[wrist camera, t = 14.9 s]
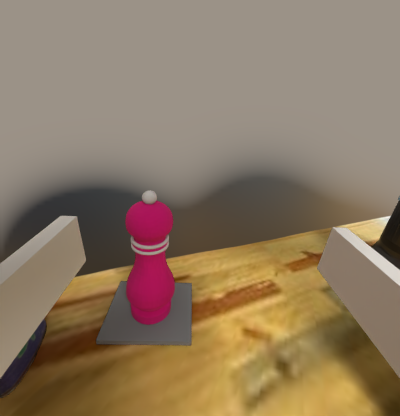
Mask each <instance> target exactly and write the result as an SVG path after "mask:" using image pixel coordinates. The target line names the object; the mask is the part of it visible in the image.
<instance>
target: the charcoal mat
mask: <svg viewBox="0 0 400 416" xmlns="http://www.w3.org/2000/svg"><path fill="white" fill-rule="evenodd" d="M126 285H127V281H121V282H120V284H119V287H118V289H117V292H116V294H115V296H114V299H113V301H112V303H111V306H110V308H109V311H108V313H107V315H106V318H105V320H104V322H103V325H102V327H101V329H100V332H99V334H98V337H97V339H96V343H97V344H124V345H191V317H192V283H175V291H174V294H173V297H172V298H171V309H170V312H169V314H168V315H167V317H166V318H165V319H163V320H162V321H160V322H158V323H156V324H150V325H146V324H142V323H139V322H137V321H136V320H135V319H134V318H133V316H132V313H131V303H130V302H129V300H128V298H127V295H126Z"/></svg>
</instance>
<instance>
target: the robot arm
mask: <svg viewBox="0 0 400 416" xmlns="http://www.w3.org/2000/svg"><path fill="white" fill-rule="evenodd" d="M398 200H399V201H398V203H397V206H396V208H395V209H394V211H393V213H392V215H391V217H390V219H389V221H388V223H387V225H386V227H385V229H384V231H383V233H382V235H381V237H380V239H379V240H378V241H377V242H376V243H375V244H373V245H372V246H371V247H370V246H369V245H367V244H366V243H365V242H364V241H362V240H361V239H360V238H359V237H357V236H356V235H355V234H354V233H352V232H351V231H350V230H349V229H347V228H336V227H332V230H331V232H330V235H329V238H328V240H327V243H326V246H325V248H324V251H323V254H322V256H321V259H320V262H319V264H318V267H317V269H318V270H319V272H320V273H321V274H322V276H323V277H324V278H325V280H326V281H327V282H328V284H329V285H330V286H331V288H332V289H333V290H334V292H335V293H336V294H337V296H338V297H339V298H340V300H341V301H342V302H343V304H344V305H345V306H346V308H347V309H348V310H349V312H350V313H351V314H352V316H353V317H354V318H355V320H356V321H357V322H358V324H359V325H360V326H361V328H362V329H363V330H364V332H365V333H366V334H367V336H368V337H369V338H370V340H371V341H372V342H373V343H374V345H375V346H376V347H377V349H378V350H379V351H380V353H381V354H382V355H383V357H384V358H385V359H386V361H387V362H388V363H389V365H390V366H391V367H392V369H393V370H394V371H395V373H396V374H397V375H398V377H399V378H400V196H399V198H398ZM85 261H86V257H85V253H84V248H83V244H82V239H81V235H80V230H79V225H78V221H77V217H76V216H60V217H59V218H58V219H56V220H55V221H54V222H53V223H51V224H50V225H49V226H47V227H46V228H45V229H44V230H43V231H41V232H40V233H39V234H37V235H36V236H35V237H34V238H32V239H31V240H30V241H28V242H27V243H26V244H25V245H23V246H22V247H21V248H20V249H18V250H17V251H16V252H15V253H13V254H12V255H11V256H10V257H8V258H7V259H6V260H5V261H3V262H2V263H1V264H0V378H1V377H2V375H3V374H4V373H5V371H6V370H7V369H8V367H9V366H10V364H11V363H12V362H13V360H14V359H15V358H16V356H17V355H18V353H19V352H20V351H21V349H22V348H23V347H24V345H25V344H26V342H27V341H28V340H29V338H30V337H31V336H32V334H33V333H34V331H35V330H36V329H37V327H38V326H39V325H40V323H41V322H42V320H43V319H44V318H45V316H46V315H47V314H48V312H49V311H50V309H51V308H52V307H53V305H54V304H55V303H56V301H57V300H58V299H59V297H60V296H61V294H62V293H63V292H64V290H65V289H66V288H67V286H68V285H69V283H70V282H71V281H72V279H73V278H74V277H75V275H76V274H77V272H78V271H79V270H80V268H81V267H82V265H83V264H84V263H85Z"/></svg>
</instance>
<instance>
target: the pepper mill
mask: <svg viewBox="0 0 400 416" xmlns="http://www.w3.org/2000/svg"><path fill="white" fill-rule="evenodd" d="M142 199H143V201H140V202H138V203H136V204H134V205H133V206H132V207H131V208H130V209H129V211H128V212H127V215H126V229H127V231H128V232H129V234H131V235H132V236H131V247H132V249H133V250H134V251H135V253H136V255H135V256H136V257H135V263H134V266H133V269H132V271H131V273H130V275H129V277H128V281H127V285H126V295H127V298H128V300H129V302H130V303H131V313H132V316H133V318H134V319H135V320H136V321H137V322H139V323H142V324H146V325H150V324H156V323H158V322H160V321H162V320H163V319H165V318H166V317H167V315H168V314H169V312H170V309H171V298H172V297H173V294H174V291H175V281H174V277H173V274H172V272H171V270H170V269H169V267H168V265H167V262H166V259H165V250H166V248H167V247H168V245H169V241H168V240H169V235H168V233H169V232H170V231H171V229H172V226H173V216H172V213H171V211H170V209H169V208H168V207H167V206H166V205H165V204H163V203H161V202H159V201H156V200H157V196H156V194H155V192H153V191H150V190H149V191H146V192H144V193H143V195H142Z"/></svg>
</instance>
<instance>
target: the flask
mask: <svg viewBox="0 0 400 416" xmlns="http://www.w3.org/2000/svg"><path fill="white" fill-rule="evenodd" d="M45 333H46V322H45V320H44V319H43V320H42V322H41V323H40V325H39V326H38V327H37V329H36V330H35V331H34V333H33V334H32V336H31V337H30V338H29V340H28V341H27V342H26V344H25V345H24V347H23V348H22V349H21V351H20V352H19V353H18V355H17V356H16V358H15V359H14V360H13V362H12V363H11V364H10V366H9V367H8V369H7V370H6V371H5V373H4V374H3V375H2V377H1V378H0V398H3V397H4V396H6V395H8V394H10V392H12V391H13V390H14V389H15V388H16V386H17V385H18V384H19V383H20V381H21V380H22V378H23V377H24V375H25V374H26V372H27V371H28V369H29V367H30V366H31V365H32V363H33V361H34V358H35V357H36V354H37V351H38V349H39V347H40V345H41V342H42V340H43V338H44V335H45Z"/></svg>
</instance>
